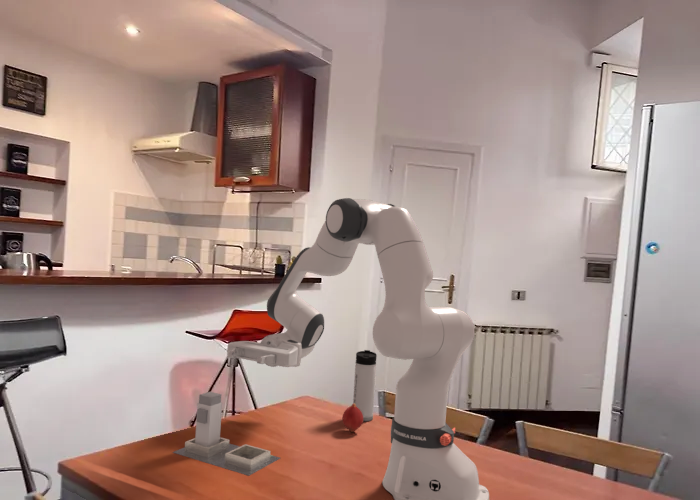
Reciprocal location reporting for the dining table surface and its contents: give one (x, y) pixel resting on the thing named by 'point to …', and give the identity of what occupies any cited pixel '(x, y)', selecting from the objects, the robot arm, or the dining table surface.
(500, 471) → the dining table surface
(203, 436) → the plug
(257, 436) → the dining table surface
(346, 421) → the onion
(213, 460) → the panel
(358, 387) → the travel mug
